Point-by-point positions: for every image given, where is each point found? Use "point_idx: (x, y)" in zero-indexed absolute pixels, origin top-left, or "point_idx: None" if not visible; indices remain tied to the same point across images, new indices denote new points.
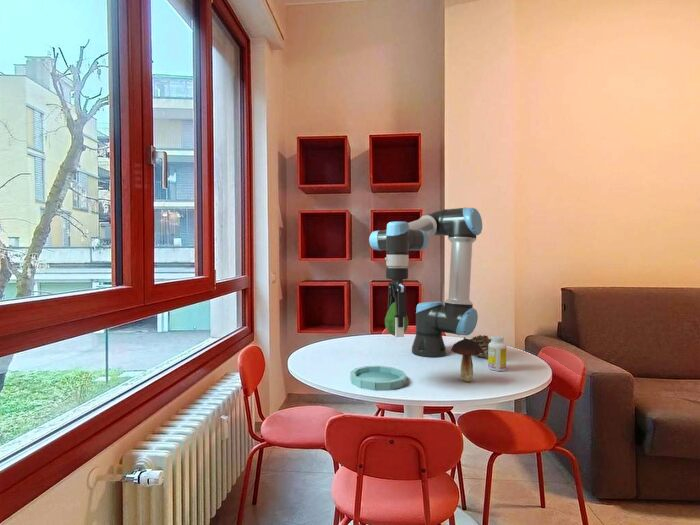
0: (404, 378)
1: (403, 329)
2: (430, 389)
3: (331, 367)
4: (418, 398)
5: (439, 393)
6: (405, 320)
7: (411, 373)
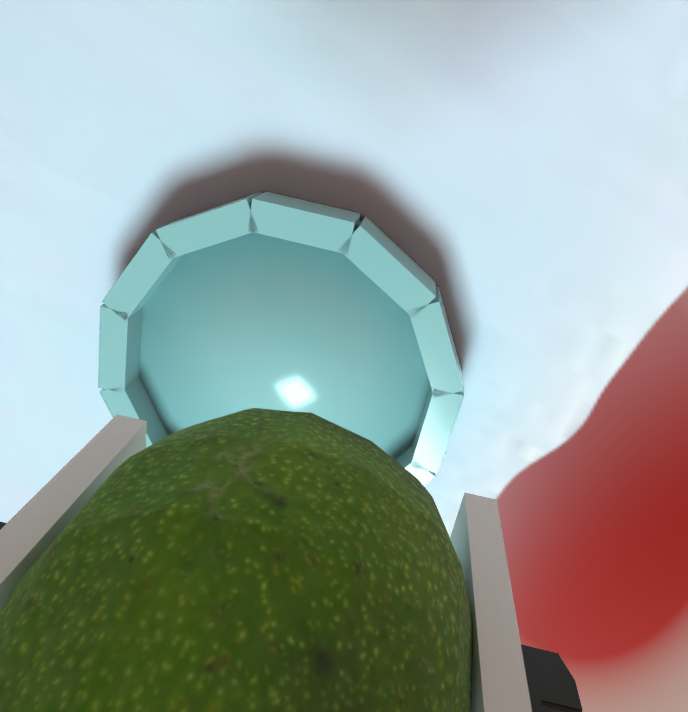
0: (398, 258)
1: (507, 586)
2: (556, 112)
3: (8, 504)
4: (663, 285)
5: (659, 89)
6: (461, 656)
7: (178, 68)
